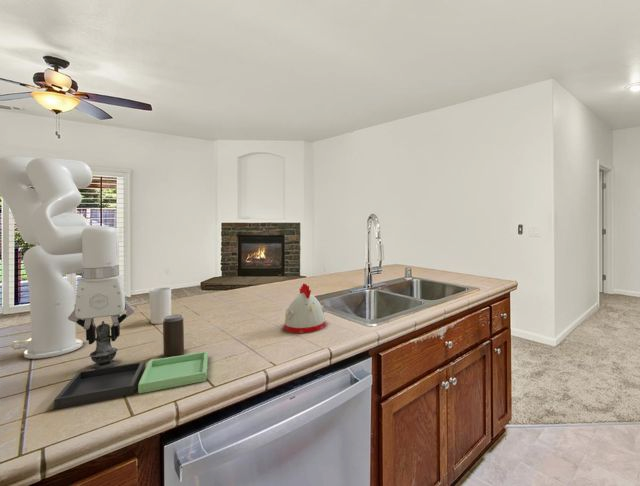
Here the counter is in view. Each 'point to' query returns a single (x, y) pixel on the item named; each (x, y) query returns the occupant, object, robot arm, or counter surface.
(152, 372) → the pale tray
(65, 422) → the counter surface
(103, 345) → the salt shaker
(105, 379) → the dark tray
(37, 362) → the counter surface
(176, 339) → the pepper shaker
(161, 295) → the mug
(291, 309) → the kitchen timer
